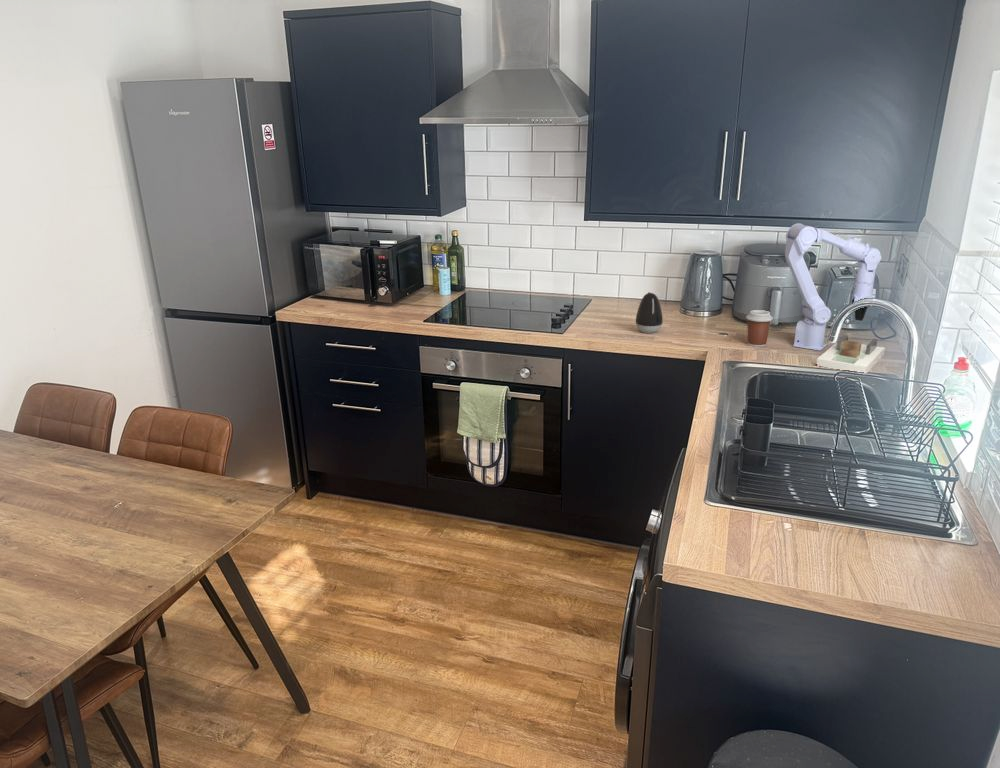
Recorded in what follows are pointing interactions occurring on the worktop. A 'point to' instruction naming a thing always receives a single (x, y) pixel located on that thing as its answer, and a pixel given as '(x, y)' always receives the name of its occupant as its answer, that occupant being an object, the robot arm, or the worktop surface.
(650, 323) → the black and white egg-shape
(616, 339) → the worktop surface
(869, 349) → the channel walls
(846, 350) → the walnut block
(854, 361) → the channel board
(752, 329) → the coffee cup
